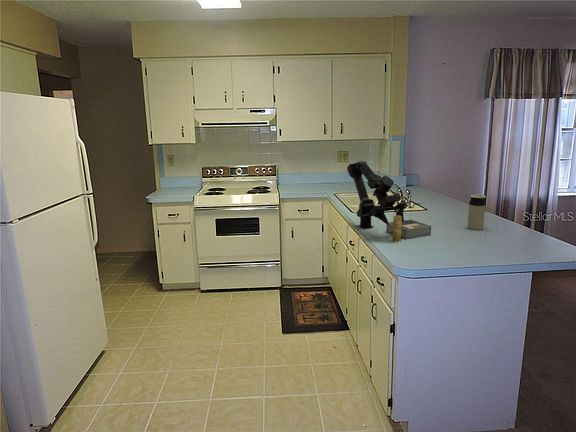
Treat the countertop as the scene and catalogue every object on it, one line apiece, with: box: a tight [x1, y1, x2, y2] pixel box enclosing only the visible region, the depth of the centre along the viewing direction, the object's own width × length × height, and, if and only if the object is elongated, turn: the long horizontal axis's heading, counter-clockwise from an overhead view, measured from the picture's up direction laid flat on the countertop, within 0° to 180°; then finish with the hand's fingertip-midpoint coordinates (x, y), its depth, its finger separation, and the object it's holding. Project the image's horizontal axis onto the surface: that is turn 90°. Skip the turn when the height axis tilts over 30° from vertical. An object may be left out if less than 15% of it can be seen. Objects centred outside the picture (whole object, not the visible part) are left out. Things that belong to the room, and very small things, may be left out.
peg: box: [392, 214, 402, 243], centre depth 202 cm, size 4×4×12 cm
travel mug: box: [467, 194, 487, 231], centre depth 219 cm, size 8×8×18 cm
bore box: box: [385, 218, 432, 240], centre depth 215 cm, size 16×16×5 cm
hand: (395, 223), depth 202 cm, fingers open, 9 cm apart
